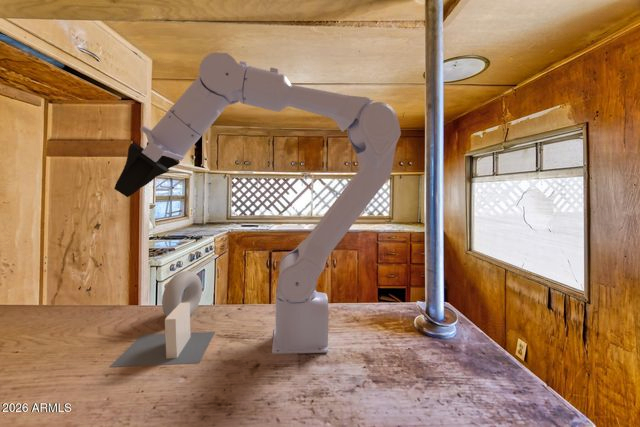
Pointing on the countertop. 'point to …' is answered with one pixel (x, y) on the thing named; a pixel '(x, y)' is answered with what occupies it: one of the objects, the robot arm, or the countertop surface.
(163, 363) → the mat
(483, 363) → the countertop surface
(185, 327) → the tile
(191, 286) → the donut
